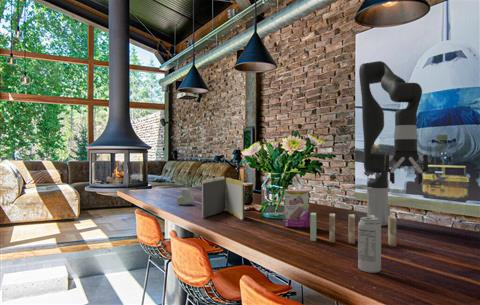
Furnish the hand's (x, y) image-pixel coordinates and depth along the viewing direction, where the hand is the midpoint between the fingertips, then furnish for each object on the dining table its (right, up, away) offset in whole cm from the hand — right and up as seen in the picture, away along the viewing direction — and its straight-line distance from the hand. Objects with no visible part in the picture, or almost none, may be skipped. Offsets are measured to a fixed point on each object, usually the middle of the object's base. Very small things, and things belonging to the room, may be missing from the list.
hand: (405, 183), depth 131 cm
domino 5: (-4, -22, +1) cm, 23 cm away
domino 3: (-18, -22, +5) cm, 29 cm away
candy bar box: (-34, -22, +33) cm, 53 cm away
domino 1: (-32, -22, +8) cm, 39 cm away
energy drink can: (-23, -22, -29) cm, 43 cm away
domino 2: (-25, -22, +6) cm, 34 cm away
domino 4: (-11, -22, +3) cm, 25 cm away
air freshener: (-94, -22, +103) cm, 142 cm away
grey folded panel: (-71, -22, +63) cm, 97 cm away
